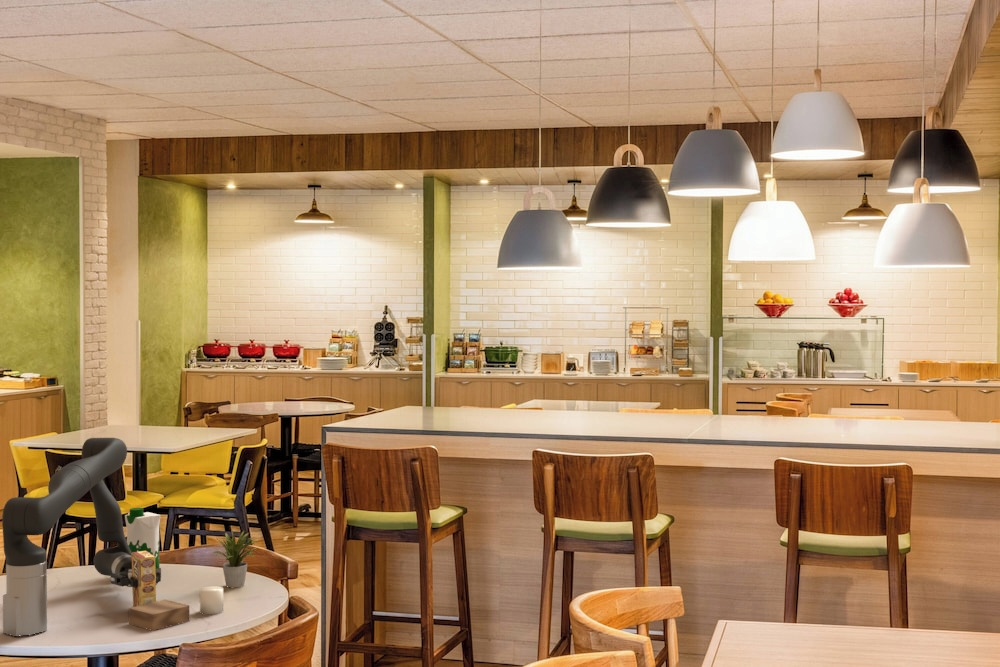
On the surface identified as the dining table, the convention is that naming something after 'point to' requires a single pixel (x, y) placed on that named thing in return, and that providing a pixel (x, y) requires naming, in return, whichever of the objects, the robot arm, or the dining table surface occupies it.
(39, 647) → the dining table surface
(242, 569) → the house plant
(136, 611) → the walnut slab
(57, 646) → the dining table surface
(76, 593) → the dining table surface
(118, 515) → the robot arm
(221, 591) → the white cylinder
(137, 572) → the candy box
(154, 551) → the milk carton
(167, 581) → the dining table surface
